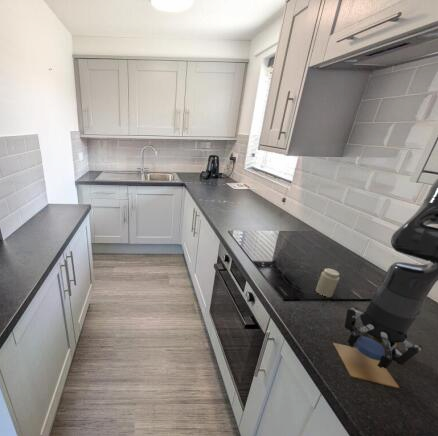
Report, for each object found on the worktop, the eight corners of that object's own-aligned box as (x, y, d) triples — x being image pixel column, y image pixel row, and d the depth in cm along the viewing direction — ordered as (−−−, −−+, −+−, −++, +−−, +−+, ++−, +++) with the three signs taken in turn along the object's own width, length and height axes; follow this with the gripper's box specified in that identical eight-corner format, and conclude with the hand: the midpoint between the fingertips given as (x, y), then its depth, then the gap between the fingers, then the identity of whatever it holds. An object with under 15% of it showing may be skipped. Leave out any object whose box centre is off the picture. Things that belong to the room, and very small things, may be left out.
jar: (326, 288, 91) (335, 268, 87) (335, 298, 86) (344, 276, 82) (312, 287, 91) (320, 266, 88) (320, 296, 86) (328, 275, 83)
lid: (355, 351, 59) (358, 346, 58) (353, 337, 63) (356, 332, 63) (385, 364, 56) (388, 359, 56) (381, 348, 60) (383, 343, 60)
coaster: (373, 352, 65) (373, 351, 65) (398, 388, 56) (399, 387, 56) (332, 343, 67) (332, 342, 67) (350, 376, 58) (351, 375, 58)
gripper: (350, 290, 59) (328, 338, 65) (431, 333, 47) (395, 387, 53) (365, 283, 62) (343, 330, 68) (446, 322, 50) (409, 375, 56)
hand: (366, 355), depth 60 cm, fingers closed on lid, 5 cm apart
